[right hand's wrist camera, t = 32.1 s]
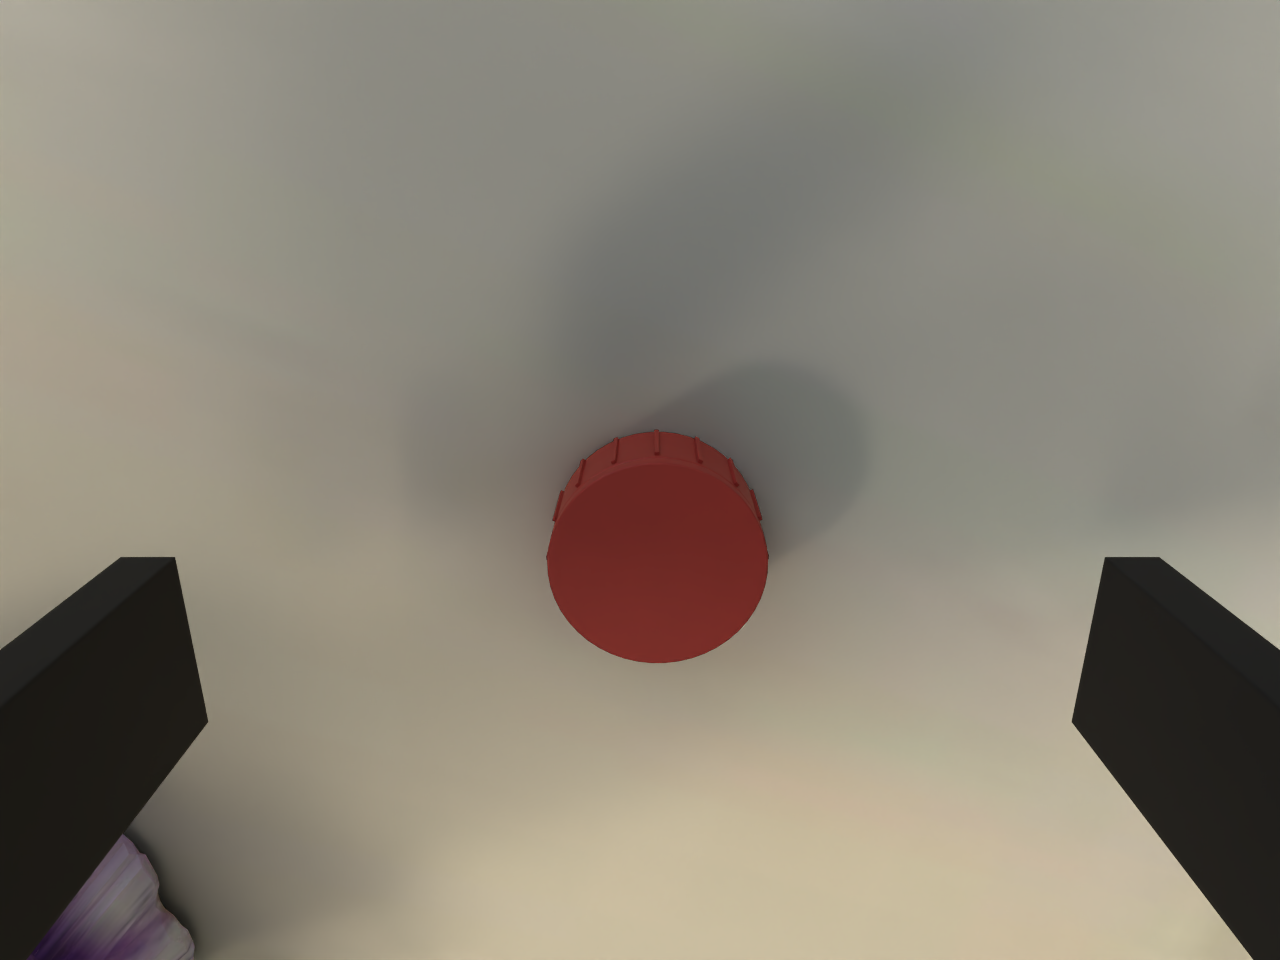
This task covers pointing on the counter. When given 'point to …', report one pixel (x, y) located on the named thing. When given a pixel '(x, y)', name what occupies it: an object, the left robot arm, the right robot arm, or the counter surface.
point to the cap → (657, 548)
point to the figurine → (117, 916)
